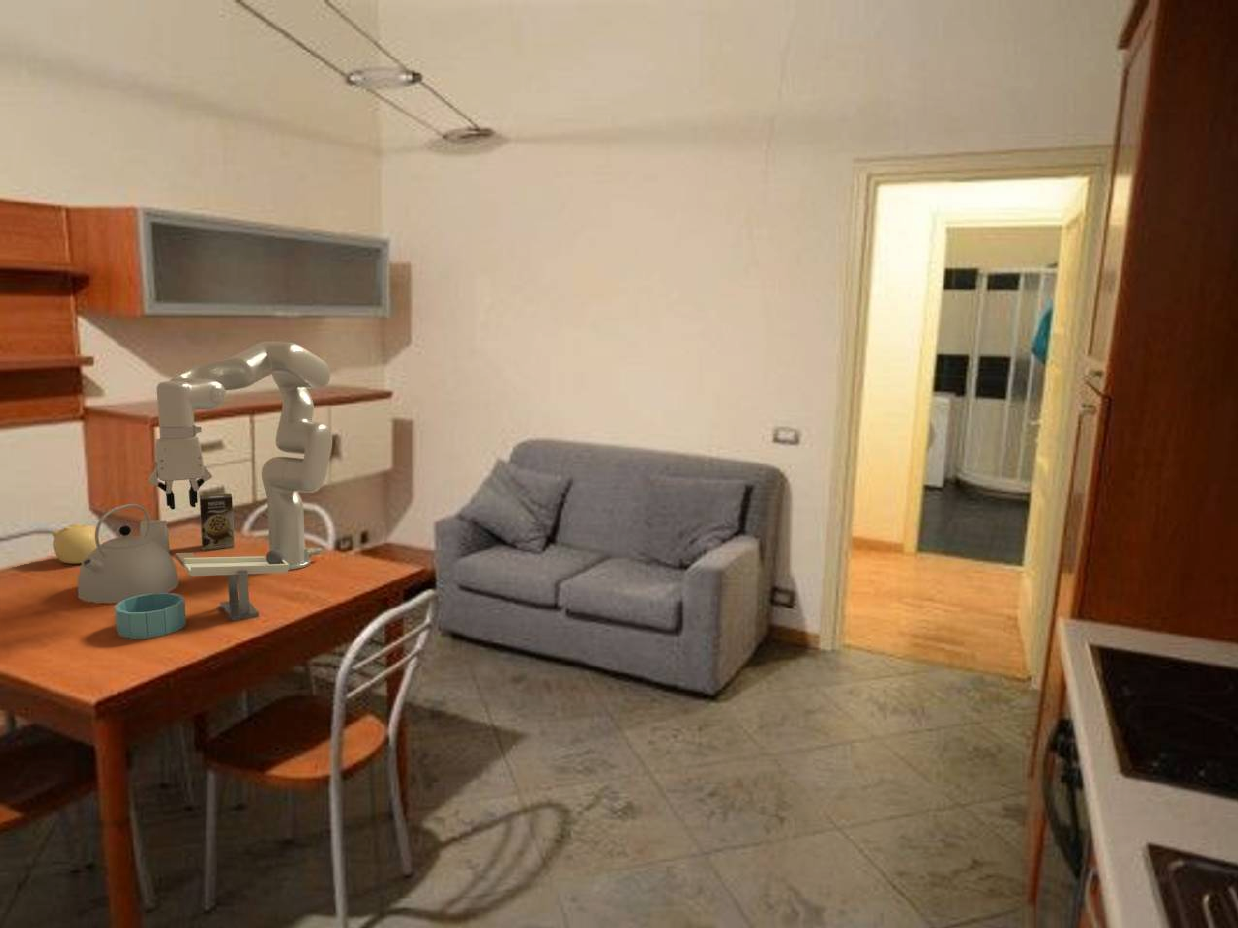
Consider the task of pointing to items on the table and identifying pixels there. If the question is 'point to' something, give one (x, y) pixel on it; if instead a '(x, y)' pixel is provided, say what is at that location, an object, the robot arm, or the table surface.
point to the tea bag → (156, 533)
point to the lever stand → (241, 606)
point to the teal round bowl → (150, 615)
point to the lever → (228, 565)
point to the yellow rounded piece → (74, 543)
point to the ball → (274, 557)
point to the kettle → (126, 567)
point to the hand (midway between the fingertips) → (182, 506)
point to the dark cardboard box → (217, 521)
